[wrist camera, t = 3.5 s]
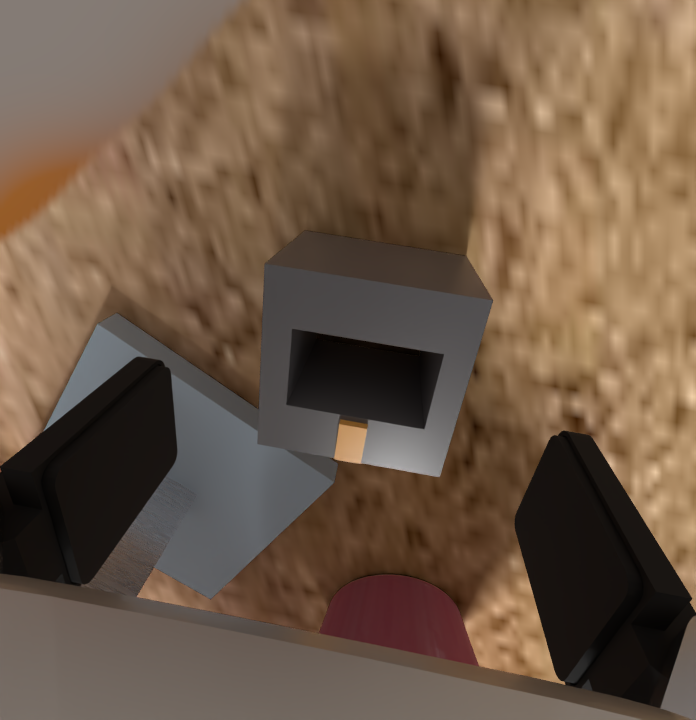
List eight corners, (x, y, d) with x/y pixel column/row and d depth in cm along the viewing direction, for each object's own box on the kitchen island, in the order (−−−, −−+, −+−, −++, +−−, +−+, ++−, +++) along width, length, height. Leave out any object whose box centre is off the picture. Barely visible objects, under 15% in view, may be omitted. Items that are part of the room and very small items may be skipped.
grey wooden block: (197, 494, 24) (125, 615, 18) (184, 509, 25) (111, 630, 18) (141, 460, 23) (46, 573, 17) (130, 476, 24) (35, 590, 18)
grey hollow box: (466, 255, 18) (494, 303, 12) (430, 394, 21) (440, 482, 16) (305, 230, 18) (261, 266, 13) (293, 371, 21) (254, 449, 16)
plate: (338, 463, 24) (334, 482, 22) (219, 579, 30) (210, 599, 28) (116, 313, 21) (97, 323, 20) (34, 471, 27) (14, 488, 26)
